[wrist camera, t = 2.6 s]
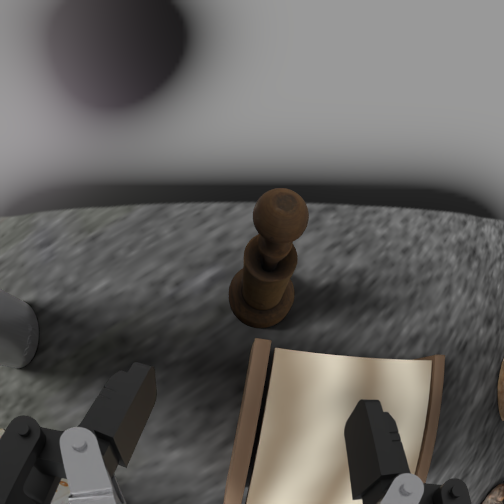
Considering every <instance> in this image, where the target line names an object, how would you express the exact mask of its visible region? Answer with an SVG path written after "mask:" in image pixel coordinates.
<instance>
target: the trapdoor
mask: <svg viewBox="0 0 504 504" xmlns="http://www.w3.org/2000/svg"><path fill="white" fill-rule="evenodd" d="M431 368H432V360H398V359H378V358H363V357H351V356H340V355H329V354H320V353H311V352H303V351H295V350H288V349H281V348H275V349H274V354H273V360H272V366H271V372H270V378H269V384H268V390H267V396H266V402H265V407H264V413H263V418H262V424H261V429H260V434H259V440H258V445H257V450H256V455H255V460H254V465H253V470H252V475H251V480H250V484H249V489H248V494H247V498H246V503H245V504H363V501H362V499H360V500H352V491H351V482H350V474H349V466H348V458H347V451H346V444H345V437H344V428H345V424H346V421H347V420H348V418H349V417H350V415H351V413H352V412H353V410H354V408H355V407H356V405H357V403H358V402H359V400H361V399H366V400H379V401H380V402H381V405H382V409H383V412H389V414H390V415H391V416H392V417H393V419H394V420H395V421H396V424H397V428H398V431H399V432H398V433H399V434H400V437H401V442H402V444H403V448H404V451H405V455H406V458H407V462H408V466H409V469H410V472H411V474H415V470H416V466H417V462H418V458H419V453H420V449H421V444H422V439H423V433H424V428H425V422H426V415H427V408H428V400H429V391H430V381H431Z"/></svg>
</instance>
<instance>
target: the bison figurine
mask: <svg viewBox="0 0 504 504" xmlns="http://www.w3.org/2000/svg"><path fill="white" fill-rule="evenodd" d="M482 504H504V482H503V483H502V484H499V485H498V486H496V487H495V488H494V489H493V490H492V491H491V492H490V493H489V495H488V496H487V497H486V499H485V500H484V501H483V503H482Z"/></svg>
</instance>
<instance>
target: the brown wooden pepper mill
mask: <svg viewBox="0 0 504 504" xmlns="http://www.w3.org/2000/svg"><path fill="white" fill-rule="evenodd" d="M308 219H309V214H308V208H307V206H306V203H305V202H304V200H303V199H302V198H301V197H300V196H299V195H298V194H297V193H295V192H293V191H291V190H289V189H285V188H277V189H273V190H270V191H268V192H266V193H265V194H264V195H262V196H261V197H260V198H259V200H258V201H257V203H256V205H255V207H254V211H253V222H254V225H255V228H256V230H257V231H258V233H259V234H258V235H256V236H255V237H254V238H252V239H251V240H250V241H249V243H248V244H247V246H246V248H245V251H244V268H243V269H241V270H240V271H239V272H238V273H237V274H236V275H235V276H234V278H233V280H232V282H231V284H230V288H229V302H230V307H231V309H232V311H233V313H234V315H235V316H236V317H237V318H238V319H239V320H240V321H241V322H243V323H244V324H246V325H248V326H251V327H255V328H266V327H270V326H273V325H275V324H277V323H278V322H280V321H281V320H282V319H283V318H284V317H285V316H286V315H287V313H288V312H289V310H290V308H291V306H292V304H293V301H294V287H293V284H292V281H291V279H290V278H291V276H292V274H293V272H294V270H295V268H296V265H297V252H296V249H295V247H294V245H293V244H292V242H293V241H295V240H296V239H298V238H299V237H300V236H301V235H302V234H303V232H304V231H305V229H306V227H307V224H308Z"/></svg>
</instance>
